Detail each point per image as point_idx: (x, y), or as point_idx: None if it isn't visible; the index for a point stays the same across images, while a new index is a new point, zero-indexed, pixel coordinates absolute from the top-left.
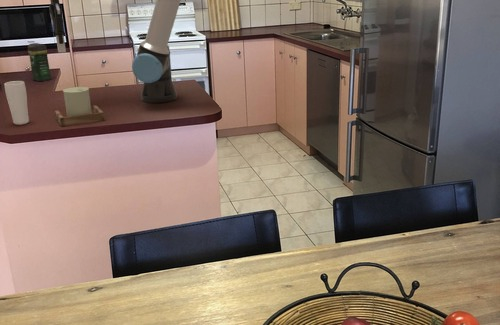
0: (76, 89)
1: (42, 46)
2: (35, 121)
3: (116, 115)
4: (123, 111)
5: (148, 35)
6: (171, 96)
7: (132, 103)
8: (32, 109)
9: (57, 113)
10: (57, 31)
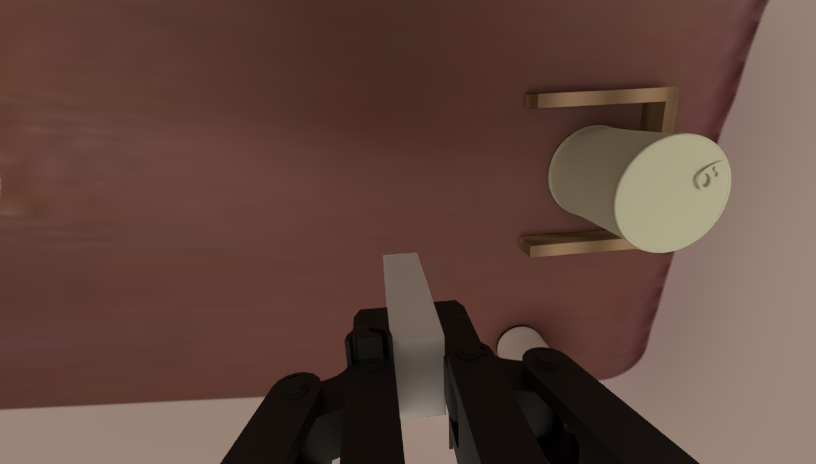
0: (668, 193)
1: None
2: (522, 307)
3: (615, 25)
4: None
5: None
6: None
7: None
8: (345, 313)
9: (580, 250)
10: (576, 447)
